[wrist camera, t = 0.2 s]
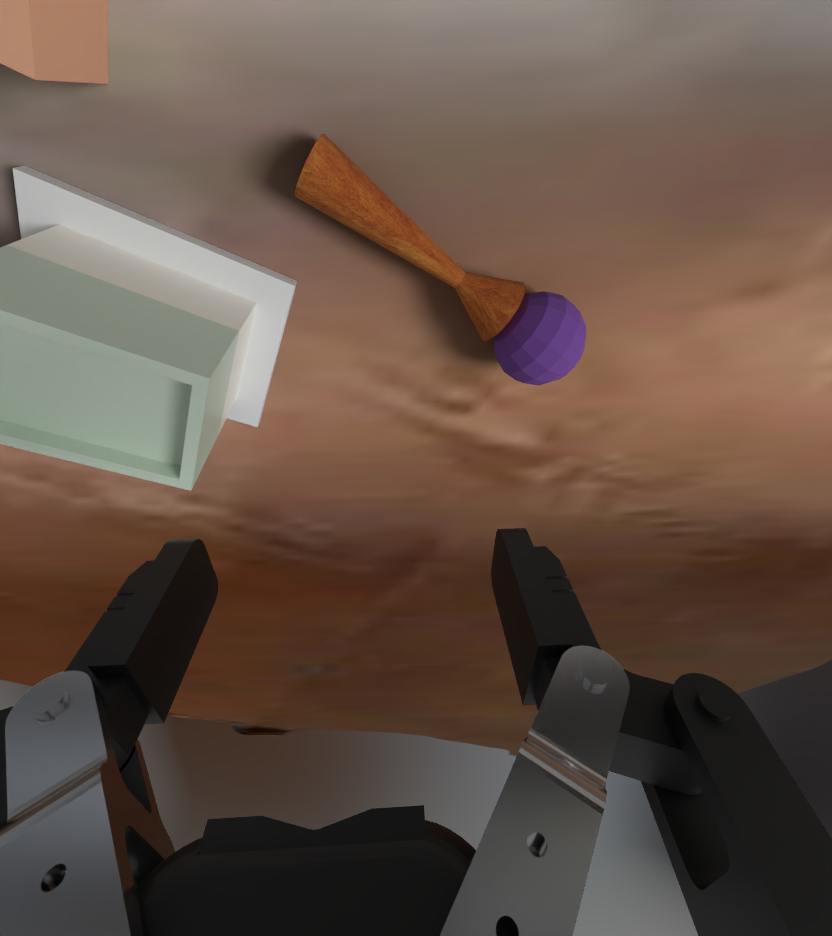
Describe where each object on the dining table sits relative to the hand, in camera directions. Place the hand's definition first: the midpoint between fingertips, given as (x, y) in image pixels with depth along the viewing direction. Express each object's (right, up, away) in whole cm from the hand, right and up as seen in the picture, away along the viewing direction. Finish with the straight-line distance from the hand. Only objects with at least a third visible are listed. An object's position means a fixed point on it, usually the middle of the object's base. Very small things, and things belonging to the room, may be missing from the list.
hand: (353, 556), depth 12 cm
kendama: (+4, +16, +16) cm, 23 cm away
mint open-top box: (-15, +13, +17) cm, 26 cm away
